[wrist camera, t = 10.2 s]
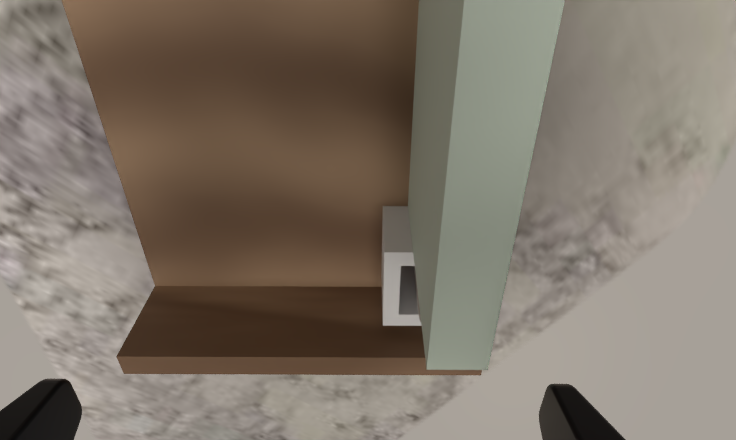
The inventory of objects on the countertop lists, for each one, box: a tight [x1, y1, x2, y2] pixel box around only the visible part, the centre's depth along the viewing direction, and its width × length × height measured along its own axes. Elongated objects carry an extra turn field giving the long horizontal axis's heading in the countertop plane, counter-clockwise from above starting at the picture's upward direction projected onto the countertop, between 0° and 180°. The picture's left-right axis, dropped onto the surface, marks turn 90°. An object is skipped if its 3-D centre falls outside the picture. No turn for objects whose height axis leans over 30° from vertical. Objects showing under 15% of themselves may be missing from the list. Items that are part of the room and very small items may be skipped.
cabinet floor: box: [62, 0, 482, 375], centre depth 16 cm, size 20×14×5 cm
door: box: [381, 0, 565, 370], centre depth 13 cm, size 18×4×8 cm, turn 0°
